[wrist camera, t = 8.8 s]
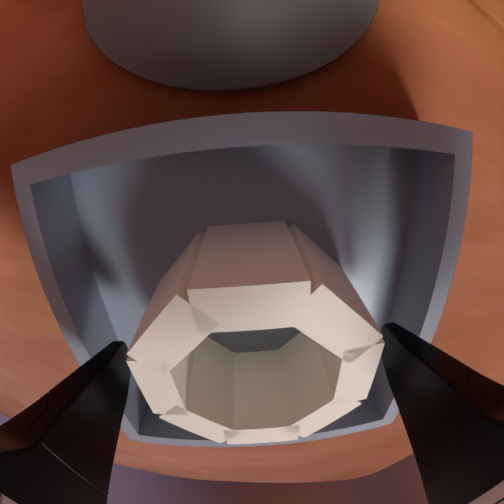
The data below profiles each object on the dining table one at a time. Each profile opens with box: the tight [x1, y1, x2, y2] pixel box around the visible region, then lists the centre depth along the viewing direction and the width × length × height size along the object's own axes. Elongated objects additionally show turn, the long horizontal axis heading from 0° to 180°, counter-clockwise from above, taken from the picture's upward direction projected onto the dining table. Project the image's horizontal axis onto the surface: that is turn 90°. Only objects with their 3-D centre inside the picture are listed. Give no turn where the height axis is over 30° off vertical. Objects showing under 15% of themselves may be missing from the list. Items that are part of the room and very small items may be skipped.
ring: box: [126, 221, 385, 444], centre depth 9 cm, size 7×9×4 cm
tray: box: [11, 111, 472, 447], centre depth 10 cm, size 14×14×3 cm
